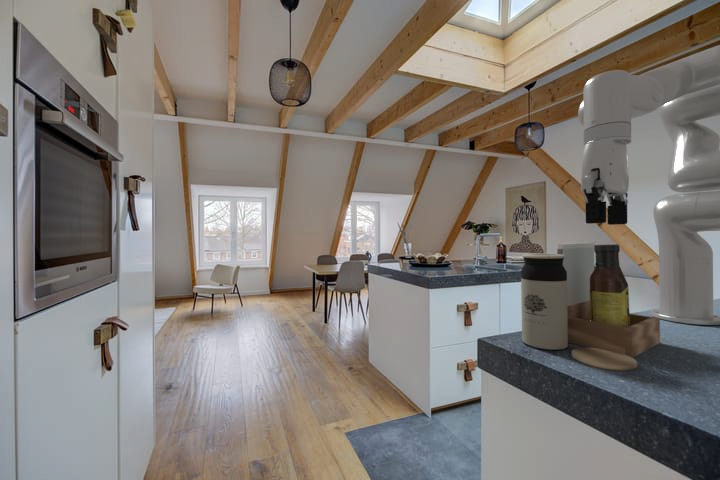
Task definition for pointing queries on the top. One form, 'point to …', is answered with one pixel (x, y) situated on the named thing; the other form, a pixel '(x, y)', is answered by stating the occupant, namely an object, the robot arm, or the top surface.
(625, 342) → the wooden open box
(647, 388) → the top surface
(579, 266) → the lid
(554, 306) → the stoneware storage canister
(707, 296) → the robot arm
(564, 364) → the top surface
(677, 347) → the top surface
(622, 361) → the disc
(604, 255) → the sauce bottle
